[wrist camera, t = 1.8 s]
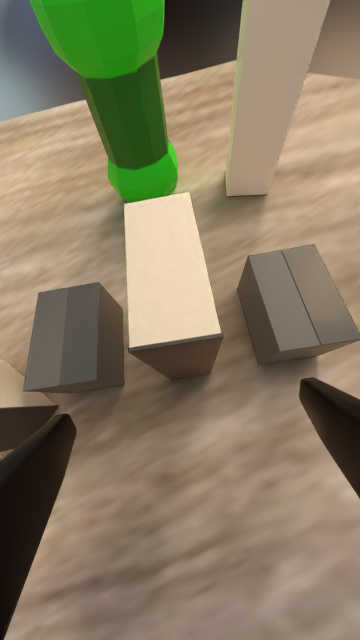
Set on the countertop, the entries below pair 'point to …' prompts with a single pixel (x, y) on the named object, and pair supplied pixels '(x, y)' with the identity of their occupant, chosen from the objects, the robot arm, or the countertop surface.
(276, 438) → the countertop surface
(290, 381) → the countertop surface
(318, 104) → the countertop surface
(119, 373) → the grey books
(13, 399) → the white books
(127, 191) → the plastic bottle
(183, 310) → the cream rectangular block
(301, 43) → the milk
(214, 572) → the countertop surface
